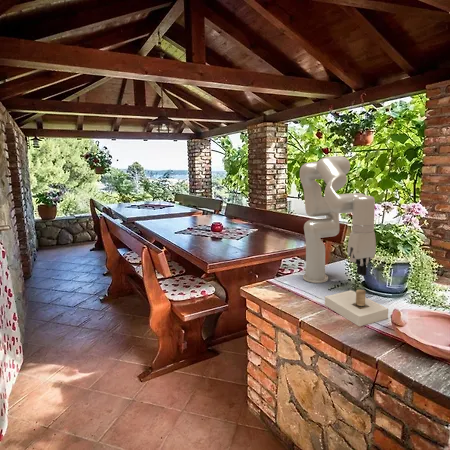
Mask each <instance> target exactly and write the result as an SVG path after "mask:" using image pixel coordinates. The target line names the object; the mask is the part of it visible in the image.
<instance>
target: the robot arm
mask: <svg viewBox="0 0 450 450" xmlns="http://www.w3.org/2000/svg"><path fill="white" fill-rule="evenodd" d="M350 169H351V163H350V160H349V159H348V158H347V157H345V156H341V155H340V156H339V155H337V156H326V157H322V158H320V159H319V160H318V161H312V162H305V163H303V164H302V165H301V166H300V168H299V178H300V182H301V186H302V188H303V197H304V209H305V214H306V215H307V216H308V217H326V218H314V219H309V220H306V222H305V223H304V224H303V231H304V232H303V233H304V238H305V268H303V271H304V272H305V274H303V275H302V276H303V280H304V281H305V282H308V283H312V284H313V283H314V284H321V283H322V284H323V283H326V282H327V281H329V276H328V275H327V274H326V245H325V243H324V242H323V240H322V239H323V238H329V237H330V238H331V237H336V236H337V235H339V233H340V215H339V214H349V213H352V224H351V227H352V231H351V232H349V233H350V234H349V237H348V241H347V242H348V243H347V256H348V257H349V262H351V263H355V264H356V274H357V275H360V276H362V277H364V276H367V266H368V265H369V262H370V261H371V260H372V259H374V258H375V255H376V252H377V242H376V241H377V240H376V233H375V226H376V225H375V208H376V199H375V197H374V196H373V195H366V194H364V193H361V192H355V193H352V192H351V193H339V194H338V193H337V191H339V190H340V189H342V188H343V187H344V186H345V185H346V183H347V181H348V177H347V174H348V173H349V172H350ZM316 180H323V182H324V184H326V185H325V188H324V196H323V194H322V193H323V192H322V187H321V185H320V184H319V183H318V182H317V181H316ZM321 238H322V239H321Z"/></svg>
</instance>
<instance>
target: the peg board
mask: <svg viewBox="0 0 450 450" xmlns="http://www.w3.org/2000/svg"><path fill="white" fill-rule="evenodd" d="M324 306H326V307H327V308H329V309H330V310H332V311H333V312H335V313H336V314H338V315H340V316H341V317H343V318H345V319H347V321H349V322H351V323H353V324H354V325H356V326H358V327H360V328H361V327H362V326H366V325H369V324H374V323H377V322H380V321H383V320H386V319H388V318H389V307H386V306H384V305H381V304H380V303H377V302H376V301H373V300H371V299H369V298H367V296H365V308H363V309H359V308H357V307H356V291H354V290H351V289H350V290H346V291H341V292H337V293H334V294H329V295H326V296H325V295H324Z"/></svg>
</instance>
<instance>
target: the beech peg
mask: <svg viewBox="0 0 450 450" xmlns="http://www.w3.org/2000/svg"><path fill="white" fill-rule="evenodd" d="M355 290H356V291H355V292H356V307H357V308H359V309H363V308H365V297H366V292H367V291H366V290H364V289H361V288H360V289H355Z"/></svg>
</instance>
